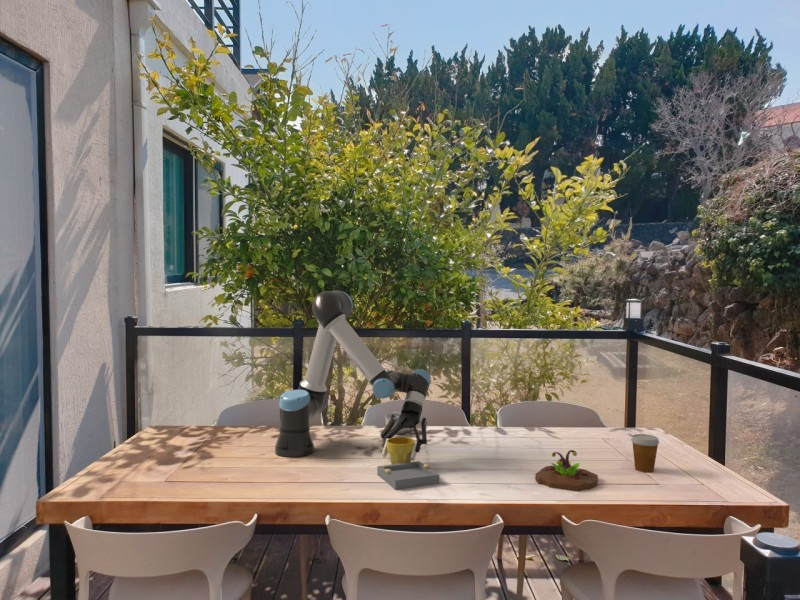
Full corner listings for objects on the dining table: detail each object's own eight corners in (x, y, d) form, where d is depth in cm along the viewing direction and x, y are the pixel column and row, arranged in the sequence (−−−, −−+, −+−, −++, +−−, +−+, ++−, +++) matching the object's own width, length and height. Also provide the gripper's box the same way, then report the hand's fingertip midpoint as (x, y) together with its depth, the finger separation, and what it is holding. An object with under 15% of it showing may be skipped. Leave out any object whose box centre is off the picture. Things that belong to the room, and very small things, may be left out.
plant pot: (382, 469, 219) (382, 442, 219) (392, 461, 229) (392, 435, 228) (409, 472, 216) (409, 445, 215) (418, 464, 225) (418, 438, 225)
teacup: (409, 435, 266) (409, 417, 265) (384, 435, 266) (384, 417, 266) (409, 427, 280) (409, 410, 279) (385, 427, 280) (385, 410, 280)
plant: (585, 496, 195) (586, 461, 195) (528, 484, 206) (528, 451, 206) (604, 479, 212) (605, 447, 211) (550, 469, 223) (551, 438, 222)
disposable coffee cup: (657, 467, 225) (658, 435, 224) (659, 475, 216) (660, 441, 215) (629, 464, 228) (630, 432, 227) (630, 472, 219) (631, 439, 218)
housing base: (394, 489, 198) (394, 477, 198) (376, 474, 213) (376, 463, 213) (439, 483, 205) (439, 471, 205) (419, 469, 220) (419, 458, 220)
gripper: (443, 414, 232) (430, 466, 218) (388, 409, 240) (371, 459, 226) (439, 402, 227) (425, 455, 213) (382, 398, 235) (365, 448, 221)
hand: (397, 457), depth 219 cm, fingers closed on plant pot, 10 cm apart
